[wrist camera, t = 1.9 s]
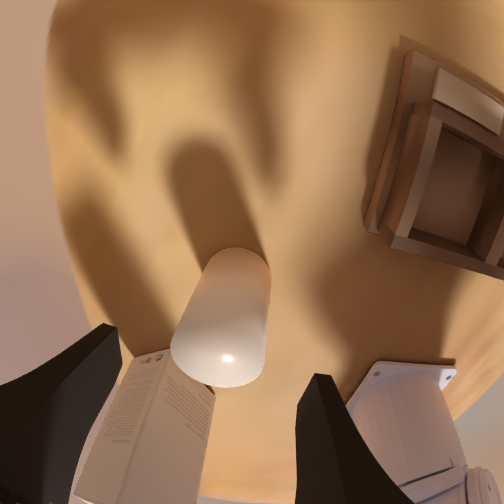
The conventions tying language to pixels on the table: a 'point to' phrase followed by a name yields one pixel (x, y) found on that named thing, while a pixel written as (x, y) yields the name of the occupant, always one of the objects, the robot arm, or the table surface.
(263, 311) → the plug
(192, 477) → the skincare box
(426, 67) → the socket board
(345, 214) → the table surface
